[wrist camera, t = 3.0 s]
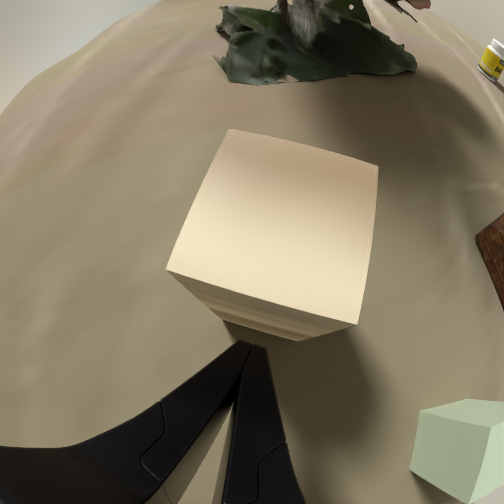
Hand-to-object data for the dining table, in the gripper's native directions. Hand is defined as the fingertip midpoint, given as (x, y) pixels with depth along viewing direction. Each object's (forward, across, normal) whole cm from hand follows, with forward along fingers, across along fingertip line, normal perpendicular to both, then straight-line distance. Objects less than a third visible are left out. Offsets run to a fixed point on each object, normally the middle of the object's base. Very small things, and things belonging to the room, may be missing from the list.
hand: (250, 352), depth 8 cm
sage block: (+3, -14, +8) cm, 16 cm away
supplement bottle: (+42, -30, -31) cm, 61 cm away
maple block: (+8, 0, +3) cm, 8 cm away
